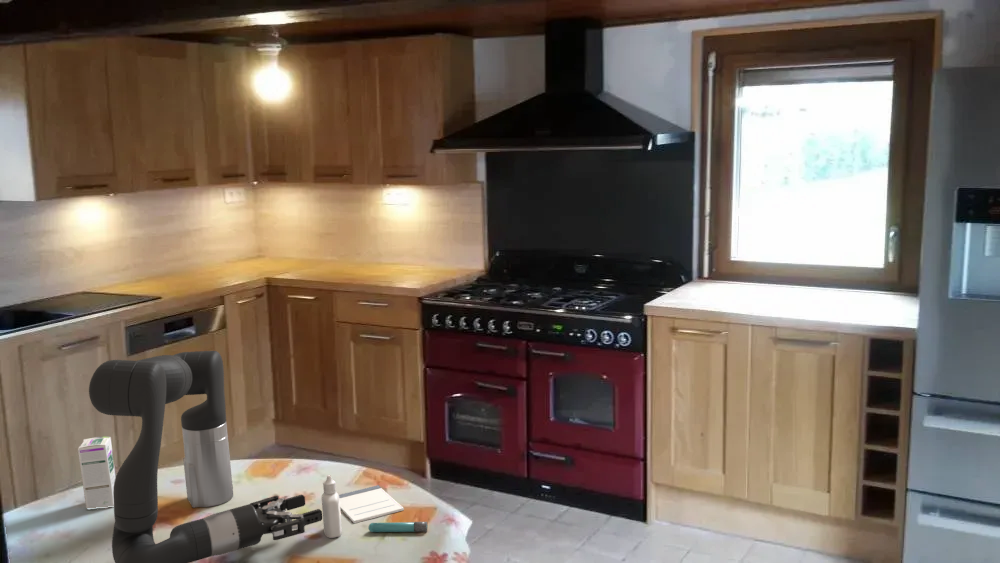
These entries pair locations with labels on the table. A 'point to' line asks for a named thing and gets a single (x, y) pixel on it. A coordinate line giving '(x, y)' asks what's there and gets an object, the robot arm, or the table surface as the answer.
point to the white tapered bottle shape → (331, 509)
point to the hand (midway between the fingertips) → (312, 506)
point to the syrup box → (97, 471)
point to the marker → (399, 527)
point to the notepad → (368, 504)
